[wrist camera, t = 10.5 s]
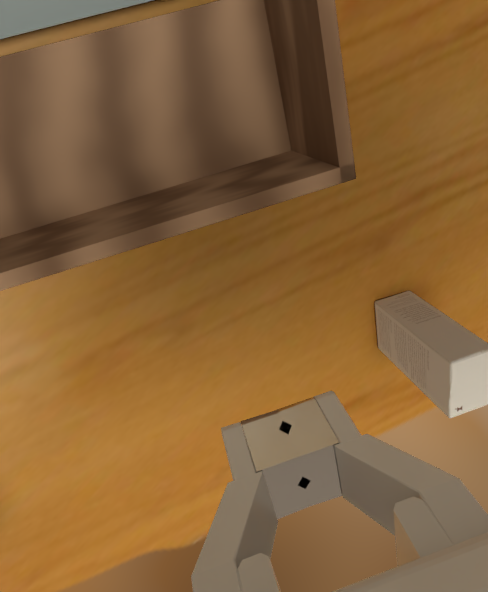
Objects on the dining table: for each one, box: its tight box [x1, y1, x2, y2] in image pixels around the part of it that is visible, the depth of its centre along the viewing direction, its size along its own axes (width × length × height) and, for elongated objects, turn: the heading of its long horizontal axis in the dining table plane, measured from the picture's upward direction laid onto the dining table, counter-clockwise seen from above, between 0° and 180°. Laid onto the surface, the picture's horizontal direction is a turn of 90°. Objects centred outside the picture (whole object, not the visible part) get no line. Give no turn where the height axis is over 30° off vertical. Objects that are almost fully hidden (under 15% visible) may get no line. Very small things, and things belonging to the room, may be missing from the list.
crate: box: [0, 0, 356, 291], centre depth 28 cm, size 26×12×10 cm, turn 104°
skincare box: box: [375, 291, 488, 418], centre depth 41 cm, size 6×4×12 cm
